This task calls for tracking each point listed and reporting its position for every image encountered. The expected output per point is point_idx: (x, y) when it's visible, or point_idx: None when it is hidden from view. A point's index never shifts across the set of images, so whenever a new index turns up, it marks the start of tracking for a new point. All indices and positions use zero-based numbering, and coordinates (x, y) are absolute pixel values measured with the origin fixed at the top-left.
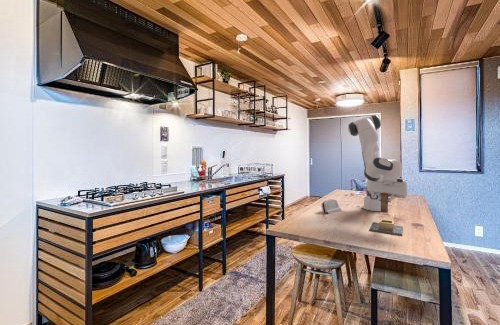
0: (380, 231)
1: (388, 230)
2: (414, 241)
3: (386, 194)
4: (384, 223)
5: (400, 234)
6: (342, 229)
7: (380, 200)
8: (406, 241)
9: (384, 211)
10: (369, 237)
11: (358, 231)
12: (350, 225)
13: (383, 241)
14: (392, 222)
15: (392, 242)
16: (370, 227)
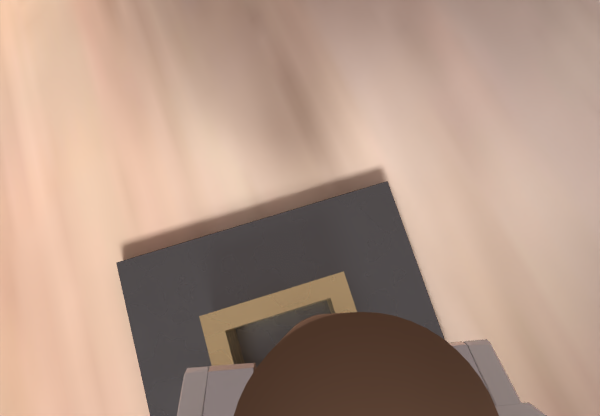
0: (294, 211)
1: (244, 274)
2: (9, 190)
3: (262, 360)
4: (289, 289)
5: (132, 260)
6: (556, 47)
7: None
8: (58, 143)
9: (304, 319)
10: (301, 24)
11: (437, 97)
12: (592, 211)
13: (189, 17)
14: None
15: (133, 44)
16: (406, 237)
